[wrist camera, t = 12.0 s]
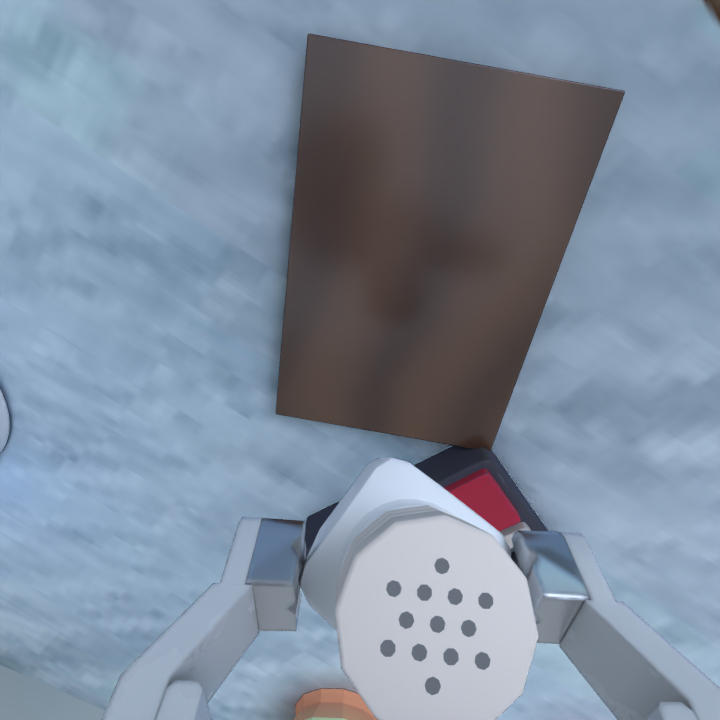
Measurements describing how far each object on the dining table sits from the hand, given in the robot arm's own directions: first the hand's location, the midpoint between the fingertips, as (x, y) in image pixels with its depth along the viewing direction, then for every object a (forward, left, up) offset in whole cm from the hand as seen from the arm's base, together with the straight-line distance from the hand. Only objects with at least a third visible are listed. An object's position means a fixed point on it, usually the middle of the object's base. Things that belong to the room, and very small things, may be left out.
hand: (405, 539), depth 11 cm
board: (+1, +2, -16) cm, 17 cm away
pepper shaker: (0, -4, -4) cm, 6 cm away
